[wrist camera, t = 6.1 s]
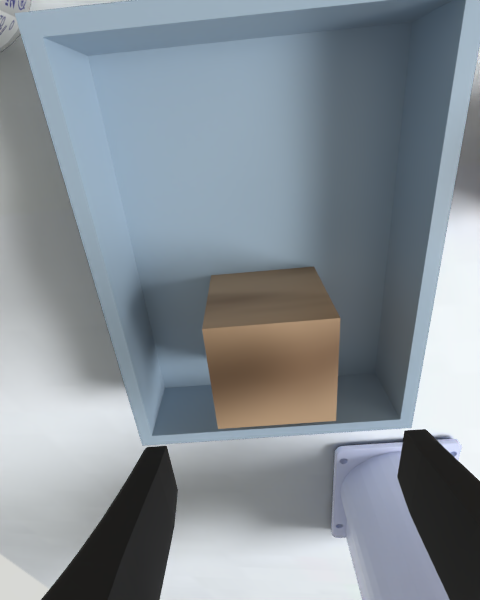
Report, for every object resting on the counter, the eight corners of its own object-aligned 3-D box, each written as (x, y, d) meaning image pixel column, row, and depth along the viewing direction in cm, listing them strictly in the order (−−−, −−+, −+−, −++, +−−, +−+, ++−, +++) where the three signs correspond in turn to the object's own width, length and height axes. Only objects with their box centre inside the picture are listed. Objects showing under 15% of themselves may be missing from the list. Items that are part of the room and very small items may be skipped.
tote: (381, 375, 21) (411, 427, 17) (158, 390, 21) (142, 445, 18) (425, 3, 13) (494, -40, 10) (73, 40, 14) (14, 13, 10)
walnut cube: (313, 351, 20) (335, 420, 15) (222, 358, 20) (218, 429, 15) (313, 266, 17) (340, 318, 13) (211, 275, 18) (202, 329, 13)
